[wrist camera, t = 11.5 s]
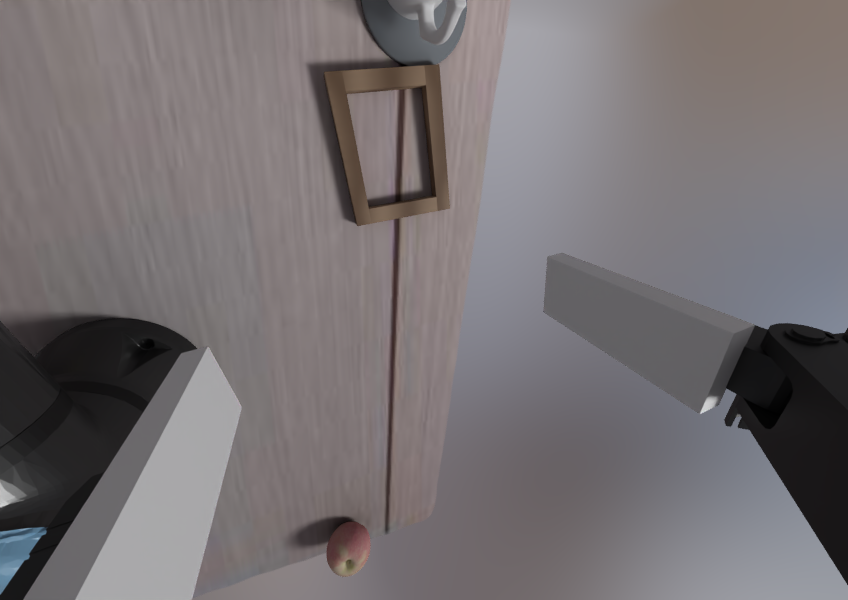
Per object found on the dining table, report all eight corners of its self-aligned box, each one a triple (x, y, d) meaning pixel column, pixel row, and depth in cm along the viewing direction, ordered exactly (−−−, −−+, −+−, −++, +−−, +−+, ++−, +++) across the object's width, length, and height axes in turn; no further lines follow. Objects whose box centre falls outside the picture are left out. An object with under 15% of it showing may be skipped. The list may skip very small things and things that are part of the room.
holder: (355, 223, 37) (357, 226, 36) (323, 75, 30) (324, 71, 29) (445, 206, 40) (449, 208, 39) (434, 67, 33) (439, 64, 32)
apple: (364, 506, 60) (372, 551, 53) (368, 528, 63) (375, 573, 56) (322, 520, 58) (324, 569, 51) (328, 542, 61) (331, 591, 54)
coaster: (372, 72, 32) (373, 70, 31) (347, -81, 27) (348, -86, 26) (466, 65, 34) (469, 64, 34) (461, -75, 29) (464, -79, 29)
